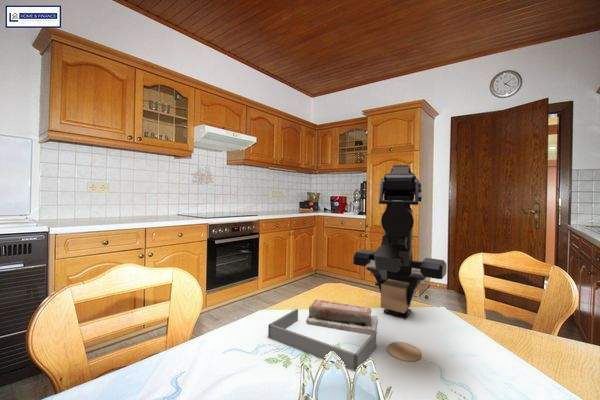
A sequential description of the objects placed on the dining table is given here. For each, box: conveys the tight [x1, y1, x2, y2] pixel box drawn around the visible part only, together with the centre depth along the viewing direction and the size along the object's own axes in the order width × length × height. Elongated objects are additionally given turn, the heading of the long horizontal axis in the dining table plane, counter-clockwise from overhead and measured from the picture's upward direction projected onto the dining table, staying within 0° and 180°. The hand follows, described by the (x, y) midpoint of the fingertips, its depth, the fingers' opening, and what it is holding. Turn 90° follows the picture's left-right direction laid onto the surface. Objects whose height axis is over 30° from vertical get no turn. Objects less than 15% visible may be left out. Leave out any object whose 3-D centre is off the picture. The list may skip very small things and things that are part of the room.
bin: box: [267, 308, 378, 372], centre depth 65 cm, size 12×22×3 cm, turn 56°
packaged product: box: [305, 299, 378, 336], centre depth 76 cm, size 18×5×10 cm
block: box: [380, 279, 412, 313], centre depth 62 cm, size 5×5×5 cm
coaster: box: [387, 341, 423, 362], centre depth 61 cm, size 7×7×1 cm
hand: (396, 301), depth 62 cm, fingers closed on block, 5 cm apart
